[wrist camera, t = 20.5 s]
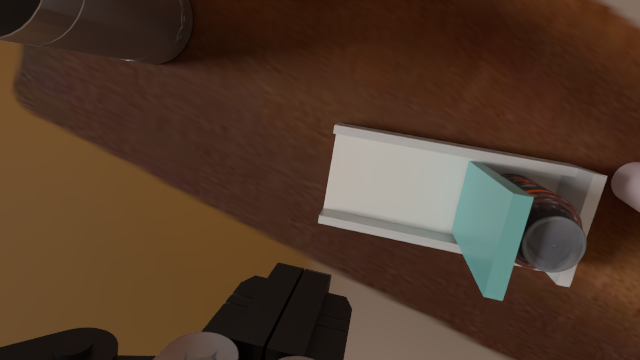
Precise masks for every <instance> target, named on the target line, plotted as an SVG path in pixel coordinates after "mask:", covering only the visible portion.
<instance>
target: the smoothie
mask: <svg viewBox="0 0 640 360" xmlns="http://www.w3.org/2000/svg"><path fill="white" fill-rule="evenodd" d="M611 188H612V191H613V193H614V194H615V195H616V196H617V197H618V198H619V199H621V200H622V201H624V202H625V203H627V204H628V205H630V206H631V207H632V208H634V209H635V210H637V211H638V212H640V162H632V163H628V164H625V165H623V166H622V167H620V168H619V169H618V170H617V171H616V172H615V173H614V175H613V177H612V180H611Z"/></svg>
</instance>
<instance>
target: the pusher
mask: <svg viewBox="0 0 640 360" xmlns="http://www.w3.org/2000/svg"><path fill="white" fill-rule="evenodd" d="M533 199H534V197H533V196H531V195H529V194H528V193H526V192H525V191H523V190H522V189H520V188H519V187H517V186H516V185H514V184H513V183H511V182H510V181H508V180H507V179H505V178H504V177H502V176H501V175H499V174H498V173H496V172H495V171H493V170H492V169H490V168H488V167H487V166H485V165H484V164H482V163H477V162H472V161H469V164H468V168H467V171H466V175H465V179H464V183H463V187H462V191H461V195H460V199H459V203H458V207H457V210H456V214H455V218H454V222H453V226H452V230H451V231H452V233H453V235H454V237H455V239H456V241H457V244H458V246H459V248H460V250H461V252H462V254H463V256H464V258H465V260H466V262H467V264H468V266H469V268H470V270H471V272H472V274H473V276H474V278H475V280H476V282H477V284H478V286H479V288H480V291H481V293H482V295H483V297H487V298H492V299H496V300H501V301H503V298H504V295H505V292H506V288H507V285H508V282H509V278H510V275H511V272H512V269H513V265H514V262H515V259H516V255H517V252H518V249H519V245H520V242H521V239H522V235H523V232H524V229H525V226H526V222H527V219H528V216H529V212H530V209H531V206H532V202H533Z"/></svg>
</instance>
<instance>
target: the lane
mask: <svg viewBox="0 0 640 360" xmlns="http://www.w3.org/2000/svg"><path fill="white" fill-rule="evenodd" d="M333 133H334V134H336V139H335V144H334V150H333V156H332V162H331V168H330V173H329V179H328V185H327V191H326V197H325V202H324V208H323V210H322V212H321V213H320V215H319V220H318V223H321V224H325V225H330V226H335V227H339V228H344V229H349V230H353V231H358V232H363V233H367V234H372V235H377V236H381V237H386V238H391V239H395V240H400V241H405V242H409V243H414V244H419V245H423V246H428V247H432V248H437V249H442V250H446V251H451V252H456V253H460V254H462V252H461V250H460V248H459V246H458V244H457V241H456V239H455V237H454V235H453V233H452V231H451V230H452V226H453V222H454V218H455V214H456V210H457V207H458V203H459V199H460V195H461V191H462V187H463V183H464V179H465V175H466V171H467V168H468V164H469V161H472V162H477V163H482V164H484V165H485V166H487V167H488V168H490V169H492V170H493V171H495V172H496V173H498V174H509V173H510V174H517V175H521V176H524V177H527V178H528V179H530V180H532V181H534V182H536V183H537V184H539V185H541V186H543V187H545V188H546V189H549V190H550V191H552V192H554V193H556V194H558V195H559V196H561V197H563V198H564V199H566V200H567V201H568V202H570V203H571V204H572V205H573V206H574V207H575V209H576V210H577V212H578V213H579V216H580V218H581V221H582V224H583V225H582V226H583V231H584V233H585V236H586V238H587V235H588V232H589V229H590V226H591V223H592V220H593V218H594V215H595V212H596V209H597V206H598V203H599V200H600V197H601V194H602V191H603V188H604V186H605V183H606V180H607V177H608V176H606V175H603V174H600V173H597V172H594V171H591V170H588V169H585V168H582V167H579V166H576V165H573V164H569V163H564V162H558V161H552V160H547V159H541V158H536V157H530V156H524V155H519V154H513V153H507V152H502V151H496V150H490V149H485V148H479V147H474V146H468V145H462V144H457V143H451V142H445V141H440V140H434V139H428V138H423V137H417V136H412V135H406V134H400V133H395V132H389V131H383V130H378V129H372V128H366V127H361V126H355V125H350V124H344V123H338V124H335V126H334V132H333ZM577 264H578V263H577ZM577 264H576V265H575V266H573V267H572V268H570V269H568V270H565V271H562V272H554V273H549V272H546V273H547V274H548V275H549V277H550V278H551V279H552V280H553V281H554V282H555V283H556V284H557V285H561V286H566V287H570V284H571V282H572V279H573V276H574V273H575V270H576V267H577ZM514 265H516V266H520V265H518V264H516V263H514ZM521 267H522V266H521ZM535 270H538V269H535ZM540 271H541V270H540Z"/></svg>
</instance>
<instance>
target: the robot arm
mask: <svg viewBox="0 0 640 360" xmlns="http://www.w3.org/2000/svg"><path fill="white" fill-rule="evenodd" d="M192 26H193V13H192V8H191V3H190V1H189V0H0V41H7V42H13V43H20V44H26V45H34V46H40V47H46V48H53V49H59V50H66V51H72V52H78V53H85V54H91V55H97V56H104V57H110V58H116V59H122V60H128V61H135V62H142V63H148V64H161V63H165V62H168V61H170V60H172V59H173V58H175V57H176V56H177V55H178V54H179V53H180V52H182V51H183V49H184V47H185V46H186V44H187V43H188V40H189V38H190V35H191V31H192ZM330 280H331V275H330V274H326V273H322V272H317V271H313V270H308V269H305V270H304V268H300V267H295V266H291V265H287V264H282V263H278V264H277V265H276V266H275V268H274V269H273V271H272V272H271V274H270V275H269V276H268V278H264V277H259V276H254V277H251V278H249V279H247V280H245V281H244V282H241V283H240V285H239V286H238V287H237V288H236V290H235V291H234V292H233V294H232V295H231V296H230V297H229V298H228V299H227V301H226V303H225V304H223V306H222V307H221V308H220V310H219V311H218V312H217V313H216V314H215V315H214V317H213V318H212V319H211V320H210V322H209V323H208V324H207V325H206V327H205V328H204V329H203V330H202V332H195V333H190V334H187V335H183V336H181V337H179V338H177V339H175V340H173V341H172V342H171V343H170V344H168V346H166V347H165V348H164V349H163V350H162V351H161V352H160V353H159V354H158V355H157V356H118V342H117V339H116V338H115V336H114V335H113V334H111V333H110V332H108V331H105V330H102V329H98V328H76V329H71V330H66V331H62V332H58V333H54V334H50V335H46V336H42V337H39V338H35V339H31V340H27V341H23V342H19V343H15V344H11V345H7V346H4V347H0V360H343V359H344V353H345V347H346V342H347V336H348V330H349V324H350V318H351V312H352V308H351V306H350V304H349V302H348V300H347V298H346V297H344V296H339V295H335V294H331V293H328V291H329V286H330Z"/></svg>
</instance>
